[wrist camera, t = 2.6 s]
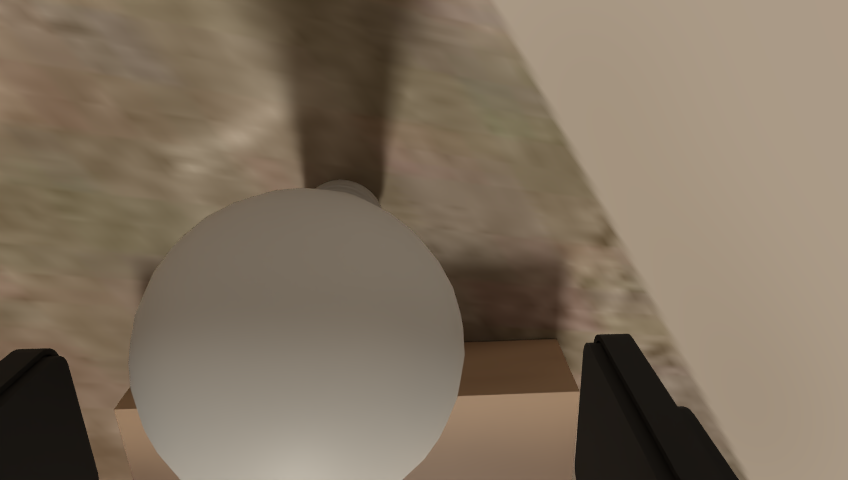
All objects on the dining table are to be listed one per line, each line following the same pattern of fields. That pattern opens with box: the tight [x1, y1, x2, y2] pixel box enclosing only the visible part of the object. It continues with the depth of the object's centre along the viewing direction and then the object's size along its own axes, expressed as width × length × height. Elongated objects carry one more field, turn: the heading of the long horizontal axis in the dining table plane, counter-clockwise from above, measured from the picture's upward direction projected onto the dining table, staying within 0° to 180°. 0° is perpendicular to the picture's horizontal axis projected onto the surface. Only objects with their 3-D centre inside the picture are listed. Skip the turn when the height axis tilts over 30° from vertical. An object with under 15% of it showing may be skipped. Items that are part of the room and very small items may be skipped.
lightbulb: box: [129, 180, 465, 480], centre depth 14 cm, size 6×6×11 cm
